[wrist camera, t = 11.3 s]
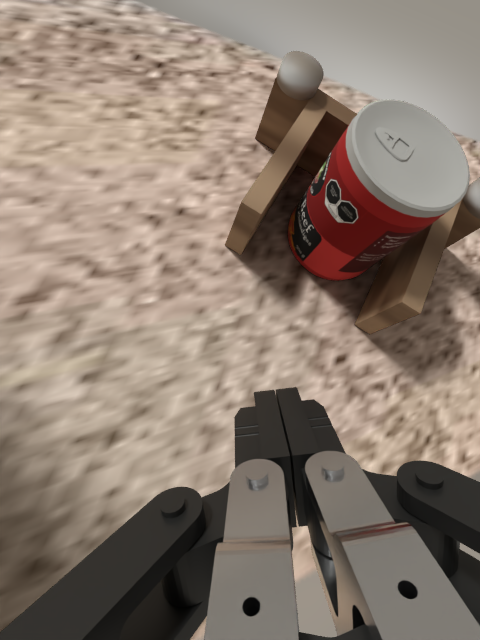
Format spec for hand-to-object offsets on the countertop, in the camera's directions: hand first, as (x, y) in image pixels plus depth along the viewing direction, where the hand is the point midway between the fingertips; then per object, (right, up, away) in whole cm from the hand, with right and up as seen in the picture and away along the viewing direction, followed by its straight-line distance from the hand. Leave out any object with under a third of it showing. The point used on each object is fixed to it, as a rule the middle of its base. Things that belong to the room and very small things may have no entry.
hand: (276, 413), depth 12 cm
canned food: (+6, +10, +19) cm, 22 cm away
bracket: (+6, +11, +18) cm, 22 cm away
